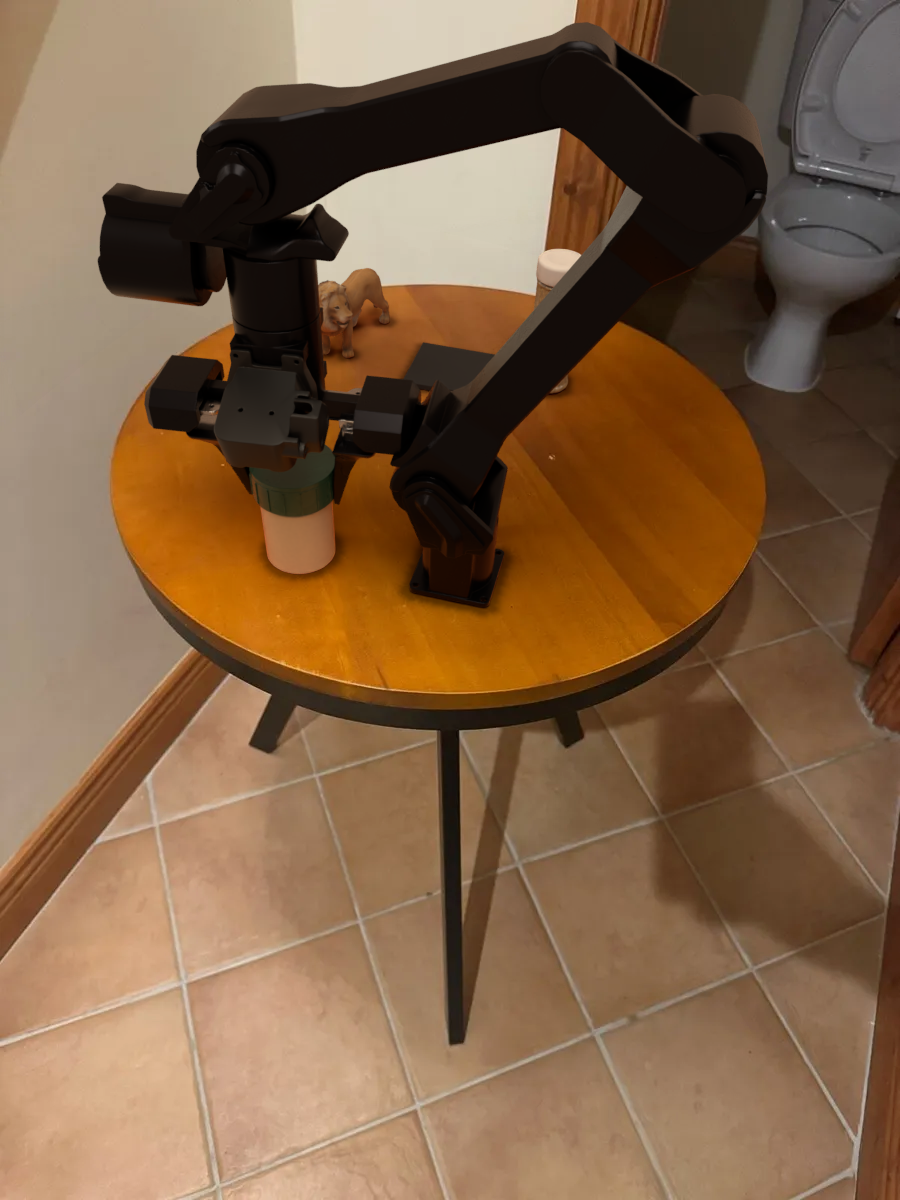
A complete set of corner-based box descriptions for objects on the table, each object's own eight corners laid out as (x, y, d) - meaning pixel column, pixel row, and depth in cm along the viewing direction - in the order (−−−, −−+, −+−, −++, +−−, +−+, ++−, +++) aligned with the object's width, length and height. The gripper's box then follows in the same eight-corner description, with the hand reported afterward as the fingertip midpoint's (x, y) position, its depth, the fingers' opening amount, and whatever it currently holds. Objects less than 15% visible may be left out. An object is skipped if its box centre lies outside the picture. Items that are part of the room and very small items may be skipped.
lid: (274, 456, 73) (271, 428, 71) (350, 474, 71) (348, 446, 69) (237, 505, 68) (233, 477, 66) (317, 525, 67) (315, 497, 65)
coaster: (478, 399, 91) (478, 394, 90) (401, 386, 92) (401, 381, 92) (495, 359, 96) (495, 354, 96) (422, 346, 97) (422, 341, 97)
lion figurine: (350, 379, 92) (346, 297, 86) (301, 369, 93) (294, 287, 87) (397, 313, 102) (397, 234, 96) (353, 304, 103) (350, 226, 97)
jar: (322, 580, 72) (315, 498, 66) (256, 566, 73) (243, 484, 67) (344, 535, 76) (340, 454, 70) (282, 522, 77) (272, 441, 71)
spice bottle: (546, 367, 96) (563, 242, 86) (576, 386, 93) (597, 260, 84) (514, 380, 94) (528, 254, 84) (544, 400, 91) (562, 273, 81)
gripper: (88, 360, 54) (141, 552, 65) (396, 393, 53) (396, 582, 64) (154, 275, 62) (191, 459, 73) (424, 302, 61) (420, 485, 72)
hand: (295, 496), depth 70 cm, fingers closed on lid, 6 cm apart
